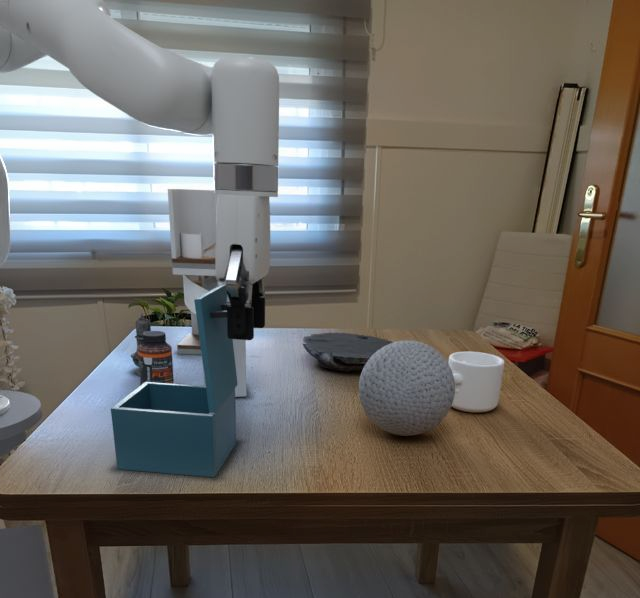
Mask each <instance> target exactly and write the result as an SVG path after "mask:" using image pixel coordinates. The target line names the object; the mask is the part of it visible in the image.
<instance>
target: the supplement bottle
mask: <svg viewBox="0 0 640 598" xmlns="http://www.w3.org/2000/svg"><path fill="white" fill-rule="evenodd" d="M142 335H143V343H142V344H141V345H140V346H139V348H138V357H139V367H138V368H139V371H140V375H139V382H140V386H141V385H142V384H143V383H145V382H157V383H171V384H175V382H174V381H175V379H174V364H173V363H174V361H173V348H172V346H171V345H170V344H169V343H167V341H166V340H167V337H166V332H164V331H162V330H151V331H147V332H144V333H143V334H142Z"/></svg>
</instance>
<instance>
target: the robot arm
mask: <svg viewBox="0 0 640 598" xmlns="http://www.w3.org/2000/svg"><path fill="white" fill-rule="evenodd" d="M47 57H49V58H51V59H52V60H54V61H56V62H58V63H59V64H60V65H62V66H64V67H65V68H66V69H68V70H69V72H70V73H71V75H72V76H73V77H74V78H75V79H76V80H77V82H79V84H81V86H83V87H84V88H85V89H86V90H87V91H89V92H91V93H92V94H94V95H95V96H96V97H98V98H100V99H101V100H103V101H104V102H106V103H108V104H109V105H111V106H112V107H114V108H116V109H118V110H119V111H120V112H122V113H124V114H125V115H127V116H129V117H130V118H132V119H134V120H135V121H138V122H140V123H142V124H144V125H147V126H149V127H153V128H156V129H161V130H166V131H167V130H168V131H174V132H178V133H182V134H187V135H192V136H209V135H212V158H213V159H212V161H213V190H214V194H219V198H218V206H217V220H216V262H215V275H216V279H217V280H218V281H219V282H224V281H226V286H227V335H228V338H229V339H239V340H246V341H252V340H253V339H254V336H255V334H254V333H255V331H254V329H263V328H264V327H265V326H266V297H265V295H266V291H265V290H266V288H265V287H266V286H265V277H266V276H267V275H268V274H269V272H270V266H271V206H270V205H271V203H270V198H273V197H274V198H278V197H279V145H280V144H279V142H280V139H279V138H280V137H279V136H280V75H279V72H278V69H277V68H276V67H275V65H273V63H271V62H269V61H267V60H265V59H261V58H256V57H250V56H249V57H247V56H227V57H223V58H220V59H218V60H217V61H216V62H215V63H214V64H213V66H209V65H206V64H203V63H201V62H198V61H195V60H192V59H190V58H187V57H186V56H183V55H180V54H178V53H176V52H173V51H171V50H168V49H165V48H163V47H161V46H160V45H157V44H156V43H153V42H152V41H150V40H148V39H146V38H145V37H143V36H141V35H140V34H138V33H137V32H135V31H133V30H132V29H130V28H128V26H125V25H123V24H122V23H120V22H119V21H117V20H115V19H114V18H113V17H112V15H111V11H110V10H109V7H108V5H107V4H106V2H105V1H104V0H0V74H2V73H4V74H5V73H11V72H14V71H17V70H21V69H22V68H24V67H27V66H28V65H30V64H33V63H35V62H38V61H39V60H42V59H44V58H47ZM9 185H10V184H9V175H8V172H7V167H6V165H5V162H4V160H3V158H2V156H1V155H0V267H1V266H3V265H4V264H5V263H6V261H7V260H8V258H9V255H10V251H11V244H12V243H11V241H12V236H11V235H12V234H11V232H12V231H11V211H10V208H11V207H10V188H9ZM240 278H241V279H240ZM251 303H252V307H251ZM9 408H10V402H9V399H8V398H6V397H4V396H2V395H0V415H2V414H4V413H5V412H6V411H8V409H9Z"/></svg>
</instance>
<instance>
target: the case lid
mask: <svg viewBox="0 0 640 598" xmlns="http://www.w3.org/2000/svg"><path fill="white" fill-rule="evenodd" d="M194 302H195V309H196V317H197V324H198V332H199V339H200V346H201V354H200V355H201V361H202V368H203V375H204V376H205V379H204V385H205V384H206V391H207V399H208V406H209V413H216V411H217V410H218V409H219V408H220V406H221V405H222V404H223V403H224V401H225V400H226V399H227V398H228V396H229V395H230V394H231V392H232V391H233V390H234V389H235V387H236V386H237V385H238V383H237V375H236V366H235V357H234V348H233V339H229V338H228V335H227V286H226V285H220V286H218V287H216V288H214V289H212V290H211V291H209V292H207V293H205V294H203V295H201V296H200V297H198V298H196V299H194ZM251 307H252V303H251ZM204 376H203V377H204Z"/></svg>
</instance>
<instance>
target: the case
mask: <svg viewBox="0 0 640 598" xmlns="http://www.w3.org/2000/svg"><path fill="white" fill-rule="evenodd" d="M236 407H237V406H236V397H235V389H234V390H233V391H232V392H231V394H230V395H229V396H228V398H227V399H226V400H225V401H224V403H223V404H222V405H221V406H220V408H219V409H218V410H217V411H216V413H209V406H208V399H207V391H206V386H205V385H197V384H185V383H183V384H182V383H174V384H171V383H157V382H145V383H143V384H142V385H141V384H140V385H139V386H138V387H137V388H136V389H134V390H133V391H132V392H130V393H129V394H128V395H127V396H125V397H124V398H123V399H121V400H120V401H118V402H117V403H115V405H114V406H112V407H111V408H110V416H111V424H112V434H113V441H114V450H115V452H114V453H115V460H116V469H117V470H122V471H123V470H125V471H134V472H148V473H159V474H160V473H161V474H172V475H180V476H181V475H182V476H194V477H205V478H216V476H217V475H218V473H219V472H220V470H221V468H222V467H223V465H224V464H225V462H226V461H227V459H228V457H229V455H230V454H231V452H232V451H233V449H234V447H235V446H236V444H237V415H236V414H237V410H236Z"/></svg>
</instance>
